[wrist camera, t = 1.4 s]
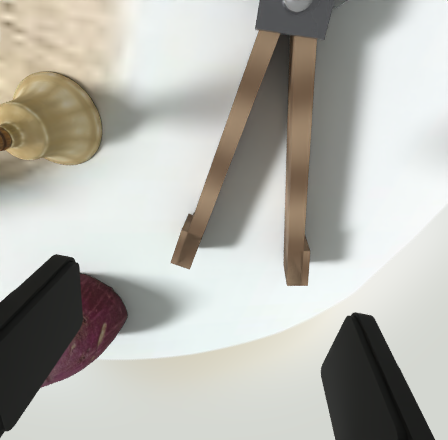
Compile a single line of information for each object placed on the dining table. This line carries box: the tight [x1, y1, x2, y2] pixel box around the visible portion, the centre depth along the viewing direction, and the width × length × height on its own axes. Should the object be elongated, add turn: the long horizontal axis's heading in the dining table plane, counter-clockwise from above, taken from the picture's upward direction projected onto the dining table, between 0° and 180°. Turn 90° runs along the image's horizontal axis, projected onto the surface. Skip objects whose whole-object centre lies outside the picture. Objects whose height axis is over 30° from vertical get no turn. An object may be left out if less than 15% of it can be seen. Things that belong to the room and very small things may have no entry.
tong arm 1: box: [284, 35, 317, 286], centre depth 25 cm, size 22×2×4 cm, turn 4°
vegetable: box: [40, 274, 127, 388], centre depth 33 cm, size 10×10×15 cm
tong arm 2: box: [171, 31, 280, 269], centre depth 25 cm, size 22×2×4 cm, turn 160°
